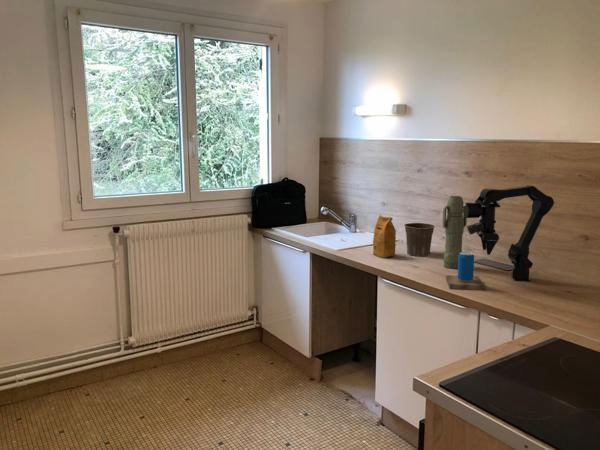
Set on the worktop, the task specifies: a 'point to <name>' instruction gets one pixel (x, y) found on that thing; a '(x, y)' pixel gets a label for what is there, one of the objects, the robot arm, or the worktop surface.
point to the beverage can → (465, 266)
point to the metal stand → (464, 283)
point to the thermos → (453, 230)
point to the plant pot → (419, 238)
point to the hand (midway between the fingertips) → (486, 252)
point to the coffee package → (384, 238)
